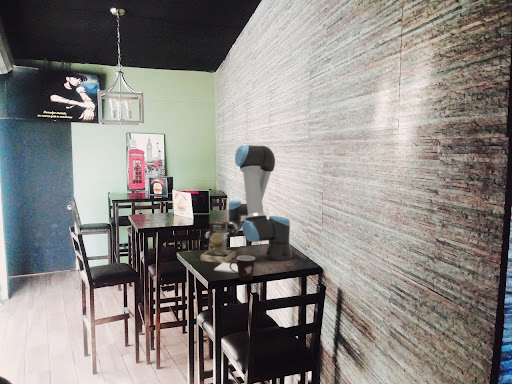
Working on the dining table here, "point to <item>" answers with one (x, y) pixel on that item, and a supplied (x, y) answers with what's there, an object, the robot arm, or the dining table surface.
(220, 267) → the white napkin
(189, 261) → the dining table surface
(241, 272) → the coffee mug
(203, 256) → the pocket frame
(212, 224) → the coffee box
